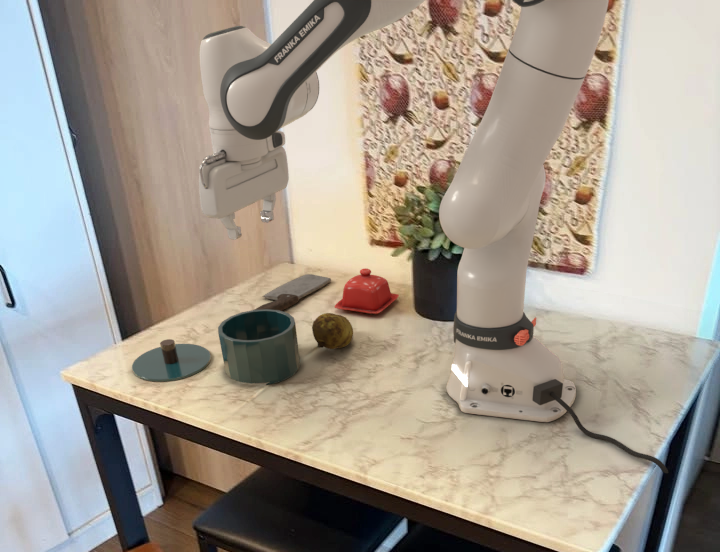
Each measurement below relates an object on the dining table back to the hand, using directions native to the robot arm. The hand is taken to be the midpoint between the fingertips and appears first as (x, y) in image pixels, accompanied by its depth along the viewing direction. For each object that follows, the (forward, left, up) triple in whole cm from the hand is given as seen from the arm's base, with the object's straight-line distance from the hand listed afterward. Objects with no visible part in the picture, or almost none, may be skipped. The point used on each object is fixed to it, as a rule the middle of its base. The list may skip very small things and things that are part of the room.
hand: (251, 229), depth 130 cm
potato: (-6, -13, -27) cm, 31 cm away
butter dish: (-2, -34, -27) cm, 43 cm away
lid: (+20, +7, -26) cm, 34 cm away
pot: (+2, 0, -27) cm, 27 cm away
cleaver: (+18, -29, -27) cm, 44 cm away
